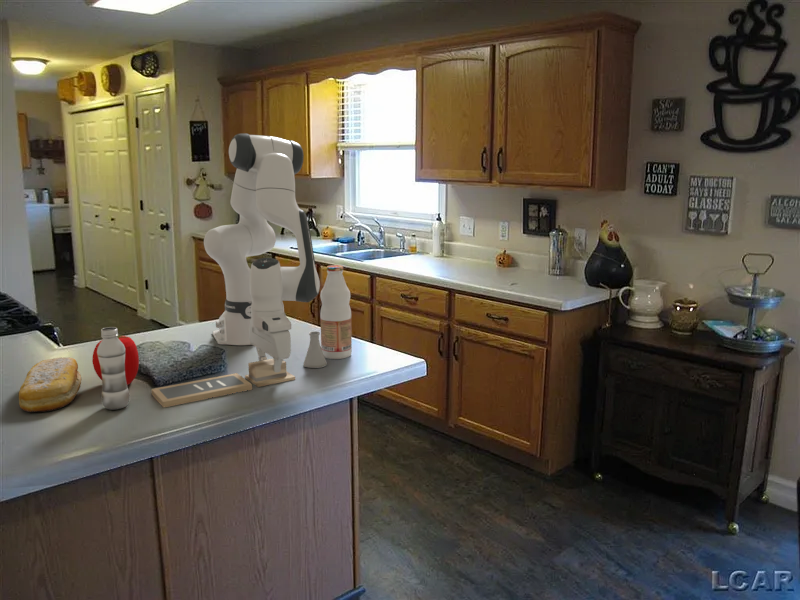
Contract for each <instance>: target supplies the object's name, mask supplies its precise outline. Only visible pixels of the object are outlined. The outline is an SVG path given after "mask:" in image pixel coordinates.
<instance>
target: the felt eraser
mask: <svg viewBox="0 0 800 600" xmlns="http://www.w3.org/2000/svg"><path fill="white" fill-rule="evenodd" d="M272 365H274V360H273V358H267V360H262V361H259V360H257V361H253V362H252V361H251V362H248V374H249V377H250V378H251V379H253V380H254V381H256V382H258V381H263V380H268V379H273V378H278V377H283V376H287V372H288V371H287V362H286V361H285V359H283V361H282V364H281V371H280V372H274V371H273V366H272ZM286 371H287V372H286Z"/></svg>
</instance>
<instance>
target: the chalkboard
mask: <svg viewBox="0 0 800 600" xmlns="http://www.w3.org/2000/svg"><path fill="white" fill-rule="evenodd" d="M247 390H248V391H252V390H253V383H252V382H250V381H249V380H248V379H246V378H245V377H243V376H242V375H240V374H239V373H238V372H235V373H229V374H224V375H219V376H214V377H209V378H202V379H197V380H192V381H188V382H181V383H177V384H171V385H166V386H161V387H160V386H159V387H155V388H151V395H152V396H153V398H154V399H155V400H156V401H157V402H158V403H159V405H161V407H162V408H169V407H173V406H178V405H183V404H189V403H193V402H197V401H198V402H199V401H203V400H209V399H212V397H213V398H218V397H223V396H227V394H228V395H232V393H233V394H237V393H236V392H238V393H242V391H243V392H247ZM208 398H209V399H208Z"/></svg>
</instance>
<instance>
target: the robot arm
mask: <svg viewBox="0 0 800 600" xmlns="http://www.w3.org/2000/svg"><path fill="white" fill-rule="evenodd" d="M304 155H305V154H304V150H303V148H302V145H301V144H300V143H298V142H296V141H294V140H291V139H284V138H282V137H277V136H272V135H261V134H260V135H259V134H249V133H237V134H235V135H234V136H233V137H232V138H231V140H230V144H229V147H228V156H229V162H230V164H231V165H232V166H233V167H234V168H236V171H235V175H234V179H233V183H232V184H233V185H232V189H231V195H230V201H229V203H230V206H231V207H232V209H233V211H234V212H236V213H237V214H238V215H239V221H238V223H235V224H225V225H219V226H217V227H214V228H211V229H208V231H207V232H206V233H205V235H204V238H203V247H204V250H205V252H206V254H207V255H208V256H209V257H210V258H211V259H213V260H214V261H215V262H216V263H217V264H218V265H219V267H220V269H221V271H222V274H223V277H224V284H225V292H226V293H225V294H226V296H225V297H226V299H225V302H224V312H223V313H222V314H220V316H219V318H218V320H216V321H215V328H216V329H215V330H212V336H213V337H214V339H215V341H216V343H217V345H230V346H231V345H232V346H251V345H252V346H254V347H256V348H255V350H256V352H257V356H258V361H262V360H268V357H267V356H266V354H267V355H269V356H270V357H272V359H273V360H274V365H272V366H273V371H274V372H280V371H281V364H282V361H283V360H286V359H289V358H290V356H291V351H292V349H291V346H292V345H291V342H292V340H291V338H292V337H291V332H290V330H292V322H291V320H289V318H288V317H287V315H286V312H285V308H284V307H285V306H284V302H283V301H289V302H290V301H293V302H294V301H295V302H299V303H300V302H301V303H310V302H311V301H313V300H314V299H316V297H317V296H318V295H319V294H320V288H321V287H320V286H321V282H320V278H319V273H318V272H317V266H316V261H315V254H314V253H315V252H314V247H313V240H312V235H311V229H310V225H309V220H308V217H307V214H306V212H305V211H304V210H303V209H301V208H300V206H299V205H298V203H297V200H296V199H297V198H296V179H295V175H297V174H298V173H299V172H300V171H301V169H302V168H303V163H304ZM268 222H269V223H271V224H273V225H276V226H278V227H281V228H284V229H285V230H288V231H289V232H291V233H292V234H293V235H294V237H295V239H296V246H297V252H298V259H299V265H298V266H281V263H280V261H279V260H278V259H276V258H273V257H263V258H257V259H256V260H254V261H253V262H252V263H251V266H249V264H248V261H247V258H248V257H253V256H261V255H263V254H265V253H268V252H270V251H272V250H273V249H274V247H275V245H276V241H277V240H276V239H277V238H276V237H277V236H276V233H275V230H274V228H273V226H271V225H270V224H269V223H268Z"/></svg>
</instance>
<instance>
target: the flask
mask: <svg viewBox="0 0 800 600" xmlns="http://www.w3.org/2000/svg"><path fill="white" fill-rule="evenodd" d="M308 335H309V339H310V340H309V345H308V348H307V351H306V355H305V357H304V361H303V365H302V366H303V368H304V367H305V368H309V369H319V368H320V369H321V368H324V367H326V366H328V364H327V363H328V362H327V358H325V357H324V354H323V352H322V349H321V341H320V336H321V331H314V330H313V331H309V332H308Z"/></svg>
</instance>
